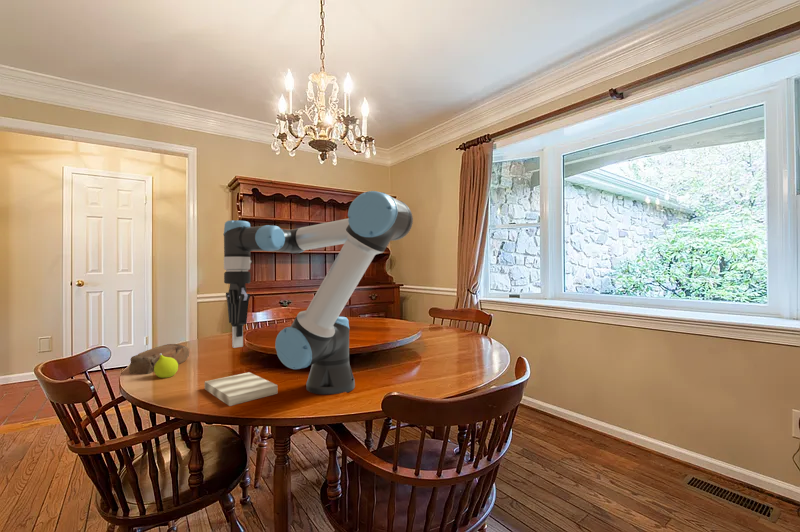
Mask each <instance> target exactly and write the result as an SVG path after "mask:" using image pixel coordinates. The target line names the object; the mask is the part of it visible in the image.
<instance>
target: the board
mask: <svg viewBox="0 0 800 532" xmlns="http://www.w3.org/2000/svg"><path fill="white" fill-rule="evenodd" d="M278 389H279V388H278V384H276V383H274V382H272V381H269V380H268V379H265V378H263V377H261V376H259V375H256V374H254V373H252V372H250V371H248V372H244V373H239V374H234V375H230V376H224V377H219V378H215V379H211V380H205V381H204V390H206V392H208V393H209V394H211V395H212V396H214V397H215V398H217V399H218V400H220V401H221V402H223V403H224V404H226V405H227V406H229V407H232V406H235V405H239V404H240V405H241V404H243V403H247V402H250V401H254V400H257V399H263V398H265V397H271V396H274V395H277V394H278Z"/></svg>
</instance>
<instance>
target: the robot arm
mask: <svg viewBox="0 0 800 532" xmlns="http://www.w3.org/2000/svg"><path fill="white" fill-rule="evenodd" d="M347 217H348V218H344V219H343V218H342V219H337V220H333V221H329V222H323V223H318V224H313V225H308V226H307V225H306V226H302V227H298V228H293V229H286V228H281V227H280V226H277V225H269V224H266V225H261V226H259V225H257V226H251V223H250V222H249V221H246V220H240V219H239V220H231V219H230V220H227V221H226V222H224V229H223V251H224V252H223V254H224V255H223V269H224V271H225V272H224V273H223V282H224V284H226V285H227V284H228V285H229V286H228V287H229V288H228V289H229V290H228V292H225V298H226V303H227V313H228V322H229V324H230V325H231V327H232V328H231V336H232V338H231V341H232V342H231V345H232V346H231V347H232V348H234V349H236V348H242V347H244V325H246V324H247V322H248V321H247V320H248V313H249V312H248V310H249V303H250V298H251V294H250V293H247V287H246V284H251V276H252V275H251V272H250V271H249V270H251V263H252V260H251V252H274V253H275V252H276V253H289V254H300V253H303V252H305V251H308V250H315V249H320V248H326V247H327V248H328V247H332V246H339V245H342V247H341V249H340V251H339V253H338V254H337V256H336V258H335V259H334V261H333V263H332V264H331V266H330V268H329V270H328V272H327V274H326V275H325V277H324V279H323V281H322V282H321V283H320V285H319V287H318V289H317V291H316V293H315V295H314V296H313V298H312V299H311V301H310V303H309V305H308V307H307V308H306V310H301V311H299V312H298V313H297V315H296V316H295V319H294V320H293V322H292V323H291V325H290V326H287V327H284V328H283V329H281V330H280V331H279V332H278V334H277V336H276V338H275V344H274V345H275V350H276V355H277V357H278V359H279V361H280V362H281V363H282V364H283V366H285V367H286V368H288V369H291V370H300V369H305V368H308V367H309V366H311V367H310V371H309V373H308V376H307V377H308V378H307V381H306V383H305V385H306V388H305V389H306V391H308V393H311V394H316V395H325V396H326V395H337V394H342V393H350V392H351V391H354V389H355V387H356V382H355V377H354V374H353V370H352V367H351V365H350V324H349V323H350V321H349V318H348V317H346V316H340V314H342V311H343V309H344V308H345V307H346V305H347V303H348V301H349V300H350V298H351V297H352V294H354V291H355V290H356V288H357V286H358V285H359V283H360V281H361V280H362V278H363V276H364V275H365V273H366V271H367V269H368V268H369V266H370V265H371V263H372V261H373V260H374V258H375V256H376V255H379V254H383V253H385V251H386V249H387V247H388V245H389V244H390V242H391V241H393V242H394V241H398V240H401V239H404V238H405V237H406V236H408V234H409V233H410V231H411V229H412V226H413V223H414V222H413V221H414V218H413V217H414V216H413V213H412V211H411V208H409V206H408V205H407V204H406V203H405V202H403V201H402V200H400V199H397V198H395V197H393V196H391V195H389V194H387V193H385V192H382V191H381V192H380V191H375V190H371V191H365V192H362V193H360V194H359V195H358V196H356V198H354V199H353V200H352V202H351V203H350V205H349V207H348V212H347Z"/></svg>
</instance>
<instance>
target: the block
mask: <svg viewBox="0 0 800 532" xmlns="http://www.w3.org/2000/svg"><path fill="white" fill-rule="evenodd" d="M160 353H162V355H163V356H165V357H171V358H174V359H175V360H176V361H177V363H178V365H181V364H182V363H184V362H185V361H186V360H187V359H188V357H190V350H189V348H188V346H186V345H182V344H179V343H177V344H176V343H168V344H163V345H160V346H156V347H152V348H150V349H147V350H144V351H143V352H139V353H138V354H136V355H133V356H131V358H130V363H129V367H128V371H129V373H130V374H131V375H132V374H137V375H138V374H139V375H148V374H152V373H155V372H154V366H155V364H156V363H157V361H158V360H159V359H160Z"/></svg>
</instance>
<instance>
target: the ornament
mask: <svg viewBox="0 0 800 532" xmlns="http://www.w3.org/2000/svg"><path fill="white" fill-rule="evenodd" d="M178 370H179V364H178V363H177V361H176V360H175V359H174V358H171V357H165V356H163V355H162V353H160V359H159V360H158V361H157V363H156V364H155V366H154V372H153V373H154V374H155V376H156V377H158V378H159V379H167V378H171V377H173V376H175V375H176V373H177V372H178Z"/></svg>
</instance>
